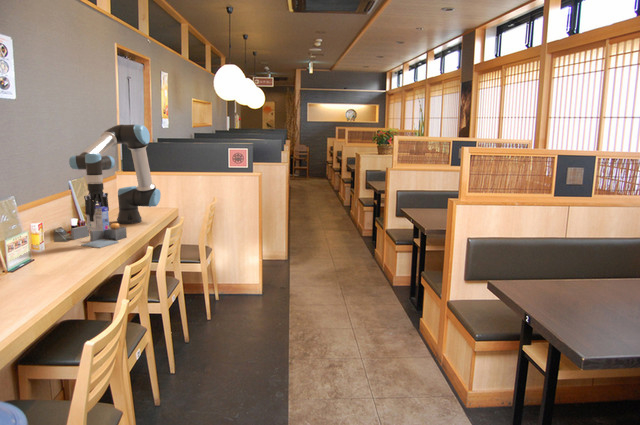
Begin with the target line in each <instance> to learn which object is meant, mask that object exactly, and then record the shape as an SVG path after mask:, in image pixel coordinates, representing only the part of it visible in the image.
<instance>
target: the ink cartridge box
mask: <svg viewBox="0 0 640 425" xmlns="http://www.w3.org/2000/svg"><path fill="white" fill-rule="evenodd" d="M99 204H100V205H99ZM100 206H101V202H98V201H97V202H96V205H95V211H94V215H95V218H96V228H93V227H91V221H90V217H89V215H86V224H87V227H88V230H89V231H92V230H98V231H104V230H108V229H110V217H109V211H108V207H100Z"/></svg>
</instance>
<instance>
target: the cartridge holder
mask: <svg viewBox="0 0 640 425" xmlns="http://www.w3.org/2000/svg"><path fill="white" fill-rule="evenodd" d="M70 234H71V240H75V241H76V240H78V239H82V238H87V237H90V242H93V241H96V240H100V239H103V240H106V239H105V234H104V231H98V230H88V227H87V225H81V226H77V227H74V228H73V227H72V228H70Z"/></svg>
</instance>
